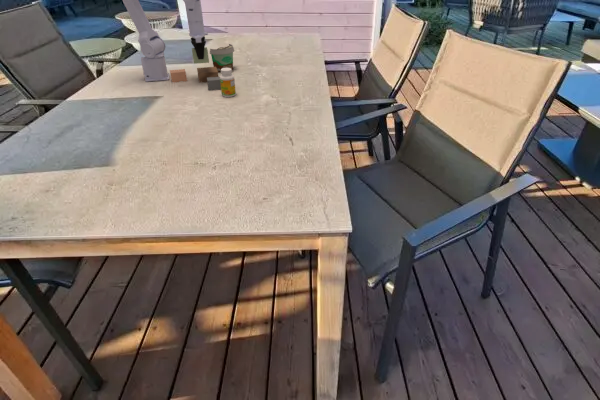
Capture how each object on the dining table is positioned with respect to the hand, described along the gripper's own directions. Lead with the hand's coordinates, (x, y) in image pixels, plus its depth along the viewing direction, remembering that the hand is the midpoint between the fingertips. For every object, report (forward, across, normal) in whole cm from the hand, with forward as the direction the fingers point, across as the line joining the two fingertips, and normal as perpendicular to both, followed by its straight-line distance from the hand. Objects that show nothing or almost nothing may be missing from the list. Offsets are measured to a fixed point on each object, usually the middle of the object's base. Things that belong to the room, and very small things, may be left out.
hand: (200, 57), depth 153 cm
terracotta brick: (+10, +3, +10) cm, 14 cm away
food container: (+10, +13, -11) cm, 19 cm away
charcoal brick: (+10, -10, -4) cm, 15 cm away
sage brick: (+2, 0, 0) cm, 2 cm away
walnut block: (+10, +2, -2) cm, 10 cm away
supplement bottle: (+10, -19, -8) cm, 23 cm away
